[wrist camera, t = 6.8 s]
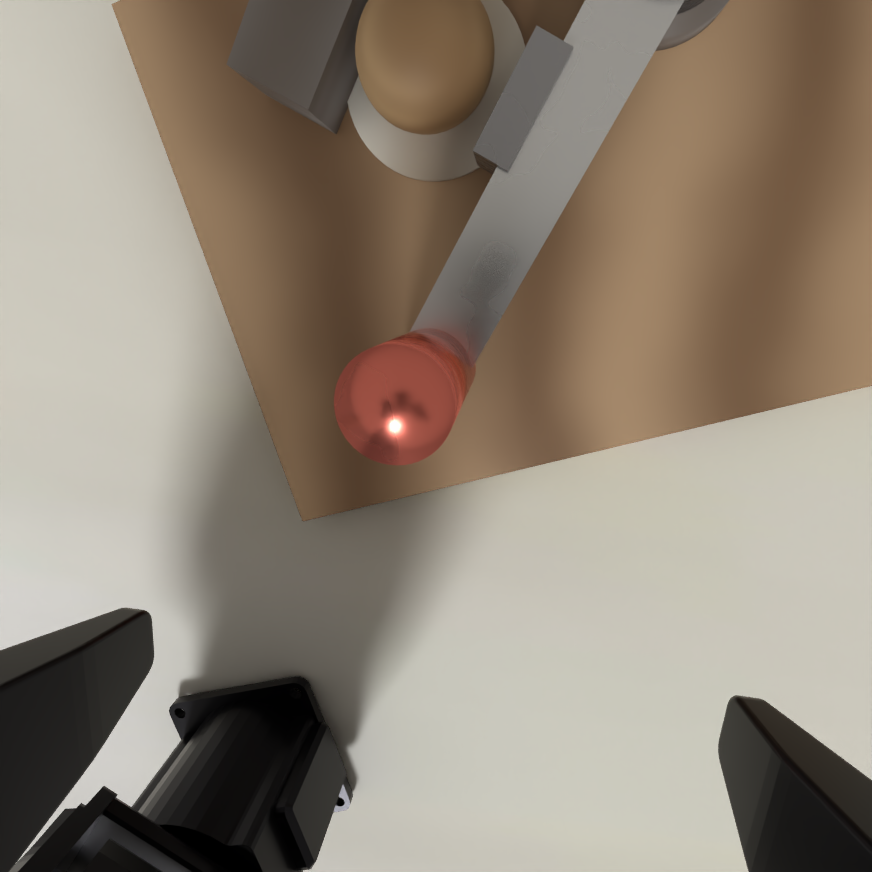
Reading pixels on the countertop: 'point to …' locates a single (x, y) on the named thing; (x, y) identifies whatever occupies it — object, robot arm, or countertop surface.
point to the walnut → (424, 61)
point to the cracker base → (563, 249)
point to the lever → (502, 224)
